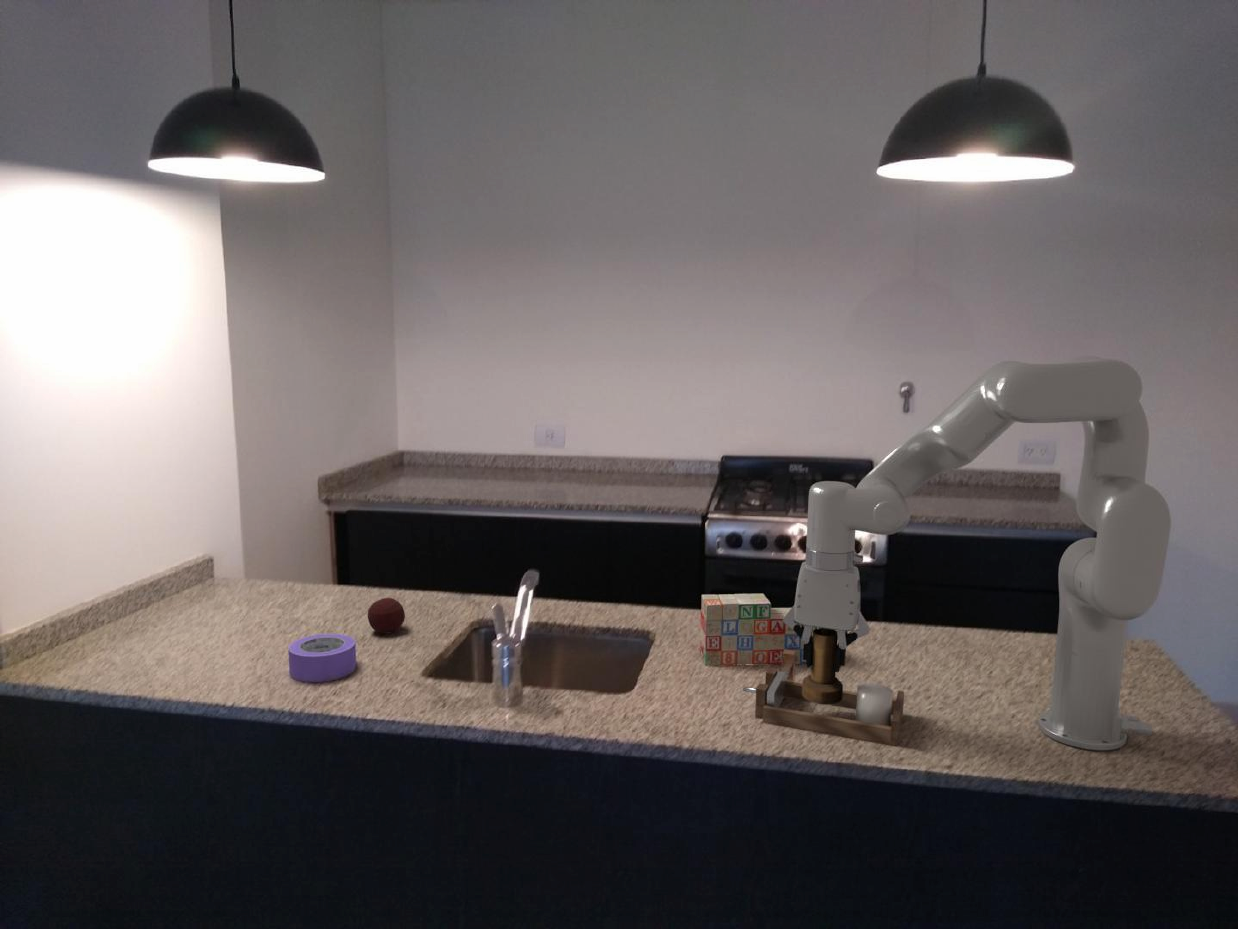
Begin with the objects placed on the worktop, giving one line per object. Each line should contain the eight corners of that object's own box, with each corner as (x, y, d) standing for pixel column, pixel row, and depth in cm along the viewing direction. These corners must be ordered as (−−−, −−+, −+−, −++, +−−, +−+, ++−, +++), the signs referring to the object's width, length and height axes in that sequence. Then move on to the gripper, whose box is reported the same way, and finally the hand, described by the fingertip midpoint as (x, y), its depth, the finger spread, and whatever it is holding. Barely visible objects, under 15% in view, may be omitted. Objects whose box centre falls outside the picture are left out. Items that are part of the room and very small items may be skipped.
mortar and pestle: (793, 695, 148) (799, 590, 145) (815, 684, 153) (821, 582, 149) (828, 708, 143) (835, 600, 140) (850, 696, 148) (857, 592, 145)
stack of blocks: (807, 652, 177) (810, 592, 175) (815, 665, 170) (819, 602, 168) (699, 654, 175) (701, 593, 173) (704, 666, 169) (705, 603, 167)
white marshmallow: (892, 721, 147) (894, 686, 146) (888, 735, 142) (891, 700, 141) (857, 715, 149) (859, 681, 148) (853, 729, 144) (855, 694, 143)
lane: (902, 714, 150) (904, 685, 149) (896, 746, 139) (898, 715, 138) (769, 692, 158) (770, 665, 157) (753, 720, 147) (754, 691, 146)
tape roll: (333, 653, 174) (332, 628, 173) (369, 668, 167) (368, 643, 166) (277, 671, 165) (275, 645, 164) (312, 688, 158) (310, 661, 157)
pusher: (794, 682, 162) (795, 650, 161) (775, 719, 147) (777, 685, 146) (758, 676, 164) (759, 645, 163) (736, 712, 149) (737, 678, 148)
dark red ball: (361, 636, 183) (360, 602, 182) (381, 623, 190) (380, 591, 189) (393, 640, 181) (392, 606, 180) (412, 627, 188) (411, 595, 187)
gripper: (885, 558, 145) (878, 666, 148) (782, 547, 151) (777, 651, 154) (881, 571, 138) (873, 683, 141) (773, 558, 144) (768, 667, 147)
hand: (823, 665), depth 147 cm, fingers closed on mortar and pestle, 3 cm apart
